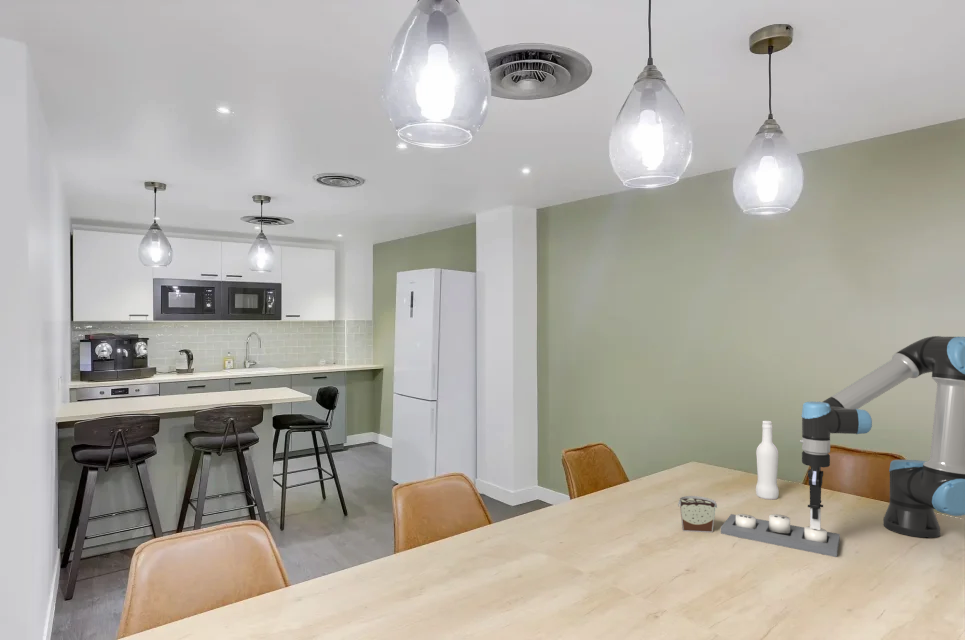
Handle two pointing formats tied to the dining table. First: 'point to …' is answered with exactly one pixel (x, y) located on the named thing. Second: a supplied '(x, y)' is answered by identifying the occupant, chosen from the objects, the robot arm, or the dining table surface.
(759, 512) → the dining table surface
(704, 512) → the food container
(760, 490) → the bottle
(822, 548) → the button board
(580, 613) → the dining table surface
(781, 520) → the two dot button
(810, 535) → the one dot button
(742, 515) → the three dot button
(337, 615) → the dining table surface
